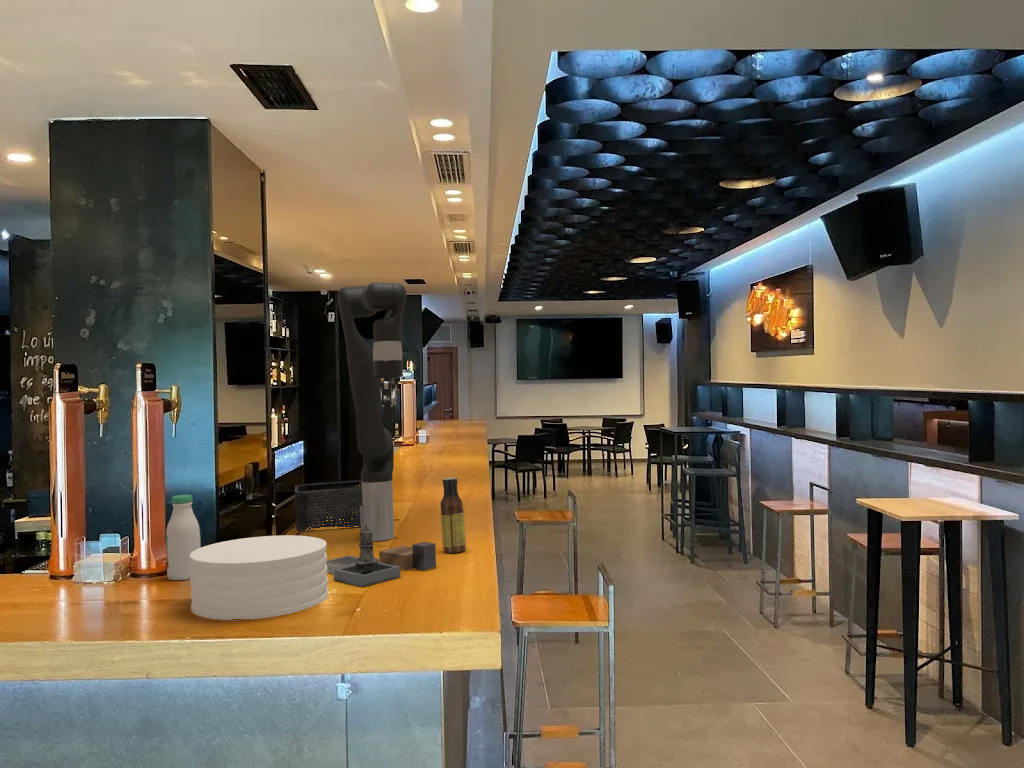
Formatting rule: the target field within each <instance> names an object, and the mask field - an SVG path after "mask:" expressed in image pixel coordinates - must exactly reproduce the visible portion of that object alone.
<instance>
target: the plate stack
mask: <svg viewBox="0 0 1024 768" xmlns="http://www.w3.org/2000/svg"><path fill="white" fill-rule="evenodd" d="M327 548H328V547H327V541H326V540H325V539H322V538H319V537H316V536H308V535H307V536H306V535H294V534H293V535H292V534H291V535H290V534H289V535H286V534H285V535H284V534H283V535H266V536H265V535H264V536H254V537H253V536H252V537H245V538H243V537H242V538H237V539H230V540H226V541H220V542H216V543H212V544H208V545H205V546H201V548H199V549H196V550H194V551H193V552H192V553H191V554H190V563H191V564H192V565H191V566H190V575H191V576H192V577H191V579H189V581H190V584H189V586H190V588H191V590H190V599H191V603H190V610H191V613H192V614H194V615H196V616H197V615H198V616H197V617H200V616H201V617H200V618H203V617H204V618H205V619H208V618H209V619H210V620H216V619H217V620H216V621H233V620H232V619H242V620H243V619H244V620H243V621H246V620H245V619H247V621H248V619H250V620H257V619H258V620H260V619H269V618H274V617H280V615H281V616H285V614H286V615H289V614H290V615H291V614H294V612H295V613H298V612H302V611H305V610H308V609H310V607H311V608H314V607H315V605H316V606H318V605H320V604H321V603H323V602H324V601H326V600H327V598H328V597H329V588H328V584H329V581H328V579H329V578H328V576H327V574H328V573H327V565H326V564H325V563H326V562H327V560H328V555H327V553H326V551H327ZM322 601H323V602H322ZM319 603H320V604H319ZM317 604H318V605H317ZM307 608H308V609H307ZM304 609H305V610H304ZM301 610H302V611H301ZM204 618H203V619H204ZM218 619H219V620H218ZM220 619H221V620H220ZM242 620H241V621H242Z"/></svg>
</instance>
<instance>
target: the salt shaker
mask: <svg viewBox="0 0 1024 768" xmlns="http://www.w3.org/2000/svg"><path fill="white" fill-rule="evenodd" d="M374 546H375V543H373V541H372V531H371V530H369V529H367V526H366V525H365V529H364V530H362V531H361V530H360V531H359V544H358V547H359V551H360V552H359V556H358V557H359V559H358V560H356V561H354V563H355V564H356V568H357V570H358V571H360V572H362V573H359V574H363V575H365V574H369V573H373V572H372V571H374V570H376V568H377V566H378V562H379V563H380V561H379V558H376V557H375V555H374Z"/></svg>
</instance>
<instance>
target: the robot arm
mask: <svg viewBox="0 0 1024 768" xmlns="http://www.w3.org/2000/svg"><path fill="white" fill-rule="evenodd" d="M337 292H338V293H337V304H338V305H337V306H338V311H339V314H340V321H341V324H342V329H343V335H344V340H345V347H346V355H347V356H346V357H347V365H348V373H349V374H348V375H349V381H350V386H351V392H352V393H351V394H352V399H353V405H354V410H355V416H356V418H355V419H356V442H357V443H356V444H357V449H358V451H359V452H360V454H361V455H362V456H363V459H362V460H363V463H362V469H361V472H360V480H361V491H362V506H361V507H360V521H361V527H360V532H361V531H362V530H364V529H365V525H366V526H367V529H369V530H371V531H372V542H380V541H382V542H383V541H387V540H392V539H394V538H395V519H394V518H395V517H394V490H393V489H394V488H393V487H394V485H393V483H394V482H393V472H394V467H395V466H394V464H395V463H394V461H395V460H394V457H395V456H394V439H393V435H392V433H391V432H390V430H388V429H387V428H385V427H384V425H383V422H384V423H392V422H393V421H395V420H396V405H397V398H398V395H397V393H398V392H397V391H398V386H397V382H396V381H394V380H395V378H403V376H404V370H403V369H404V368H403V367H404V366H403V363H404V362H403V348H402V341H401V340H402V338H401V337H402V335H401V334H402V331H401V324H402V318H403V313H404V308H405V305H406V302H407V291H406V288H405V287H404V285H403V284H402V283H398V282H371V283H369V284H367V286H366V285H359V286H346V287H341V288H340V289H339V291H337ZM388 310H389V311H391V313H390V315H389V316H387V317H385V318H379V319H377V320H374V322H373V328H372V331H373V333H372V334H373V348H371V347H370V346H369V344H368V343H367V342H366V340H364V338H363V337H362V335H361V334H360V332H359V331H358V329H357V326H356V323H355V319H356V318H367V317H372V316H374V315H375V314H377V312H381V311H388ZM381 407H382V408H383V419H382V413H381V412H382V411H381Z"/></svg>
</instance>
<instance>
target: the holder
mask: <svg viewBox="0 0 1024 768" xmlns="http://www.w3.org/2000/svg"><path fill="white" fill-rule="evenodd" d="M359 557H360V556H354V555H350V554H348V555H345V556H340V557H337V558H331V559H327V562H326V563H325V564H326V565H327V572H328V573H327V574H331V573H332V574H333V575H334V570H335V569H339V568H343V567H347V566H351V565H356V564H355V563H354V561H356V560H358V559H359Z"/></svg>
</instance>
